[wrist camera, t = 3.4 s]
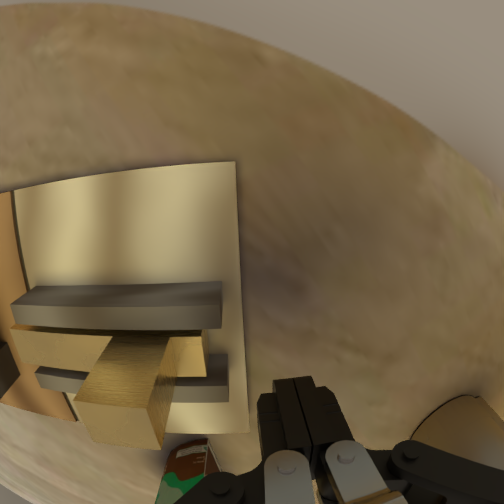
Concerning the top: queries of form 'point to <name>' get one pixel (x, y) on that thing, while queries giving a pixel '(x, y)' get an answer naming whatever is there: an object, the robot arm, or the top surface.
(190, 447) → the food container
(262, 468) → the robot arm
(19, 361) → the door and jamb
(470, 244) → the top surface
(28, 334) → the wooden t-shaped block
